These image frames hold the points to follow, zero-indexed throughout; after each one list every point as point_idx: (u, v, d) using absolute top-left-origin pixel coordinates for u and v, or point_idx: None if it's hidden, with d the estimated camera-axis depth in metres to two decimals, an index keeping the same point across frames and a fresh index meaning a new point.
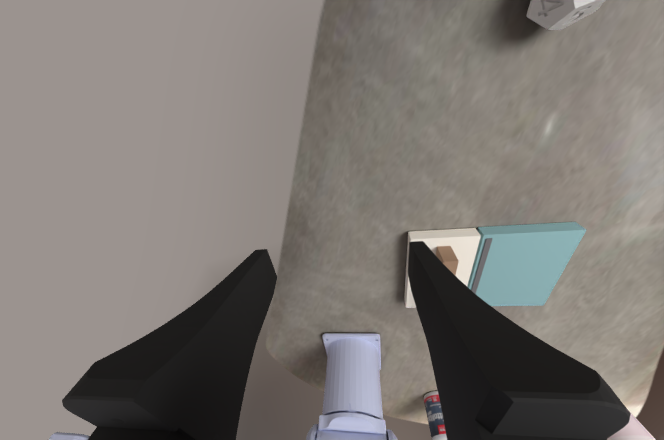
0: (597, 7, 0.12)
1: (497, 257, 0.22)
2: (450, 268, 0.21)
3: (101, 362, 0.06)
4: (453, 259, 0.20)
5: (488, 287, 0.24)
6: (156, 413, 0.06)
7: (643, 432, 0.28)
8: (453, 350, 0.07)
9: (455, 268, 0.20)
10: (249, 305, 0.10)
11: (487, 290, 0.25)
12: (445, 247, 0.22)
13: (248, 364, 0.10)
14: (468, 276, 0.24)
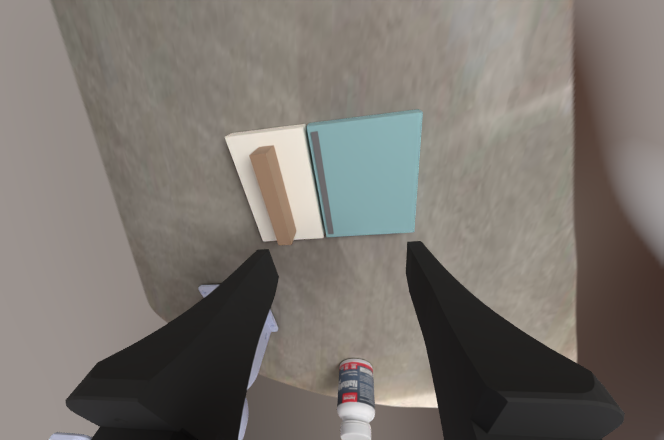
0: None
1: (335, 160, 0.18)
2: (261, 166, 0.17)
3: (104, 363, 0.06)
4: (262, 153, 0.16)
5: (342, 208, 0.20)
6: (160, 413, 0.06)
7: None
8: (449, 350, 0.07)
9: (267, 166, 0.17)
10: (251, 305, 0.10)
11: (342, 212, 0.21)
12: (266, 146, 0.18)
13: (250, 364, 0.10)
14: (313, 191, 0.20)
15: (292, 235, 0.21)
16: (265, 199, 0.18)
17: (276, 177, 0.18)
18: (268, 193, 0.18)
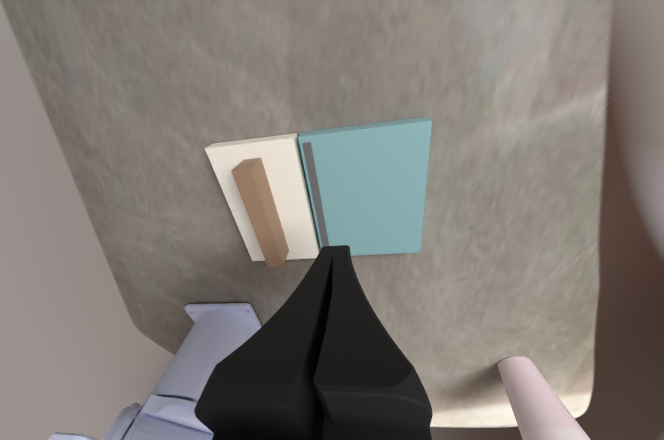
0: None
1: (331, 175, 0.16)
2: (246, 183, 0.14)
3: (224, 365, 0.06)
4: (246, 168, 0.14)
5: (340, 226, 0.18)
6: (298, 420, 0.05)
7: (569, 423, 0.22)
8: None
9: (252, 182, 0.14)
10: (329, 303, 0.10)
11: (340, 231, 0.18)
12: (252, 159, 0.15)
13: None
14: (306, 208, 0.17)
15: (284, 256, 0.18)
16: (251, 219, 0.16)
17: (264, 194, 0.16)
18: (254, 212, 0.15)
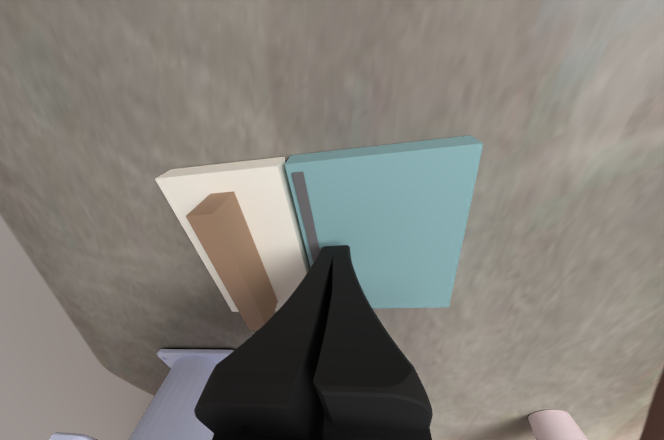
0: None
1: (332, 214, 0.11)
2: (209, 232, 0.10)
3: (223, 365, 0.06)
4: (207, 212, 0.10)
5: None
6: (298, 420, 0.05)
7: None
8: None
9: (218, 231, 0.10)
10: (329, 304, 0.10)
11: None
12: (221, 194, 0.11)
13: None
14: (299, 255, 0.13)
15: (270, 314, 0.14)
16: (222, 276, 0.11)
17: (238, 242, 0.11)
18: (225, 268, 0.11)
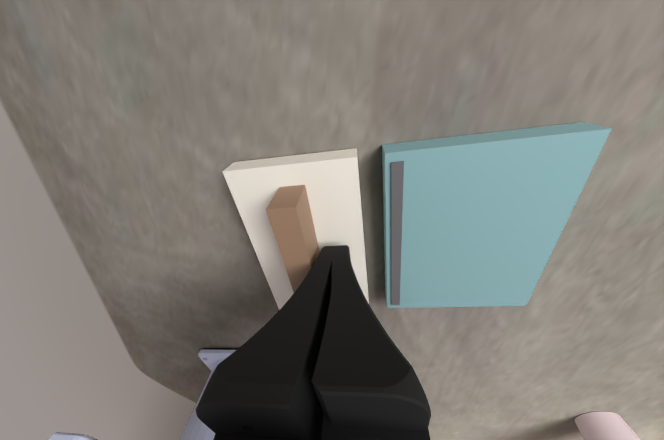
0: None
1: (424, 207, 0.11)
2: (287, 226, 0.09)
3: (225, 365, 0.06)
4: (288, 205, 0.09)
5: (421, 272, 0.13)
6: (300, 421, 0.05)
7: None
8: None
9: (297, 226, 0.09)
10: None
11: (419, 278, 0.13)
12: (292, 187, 0.10)
13: None
14: (362, 251, 0.12)
15: None
16: (290, 273, 0.11)
17: (309, 238, 0.11)
18: (296, 265, 0.11)
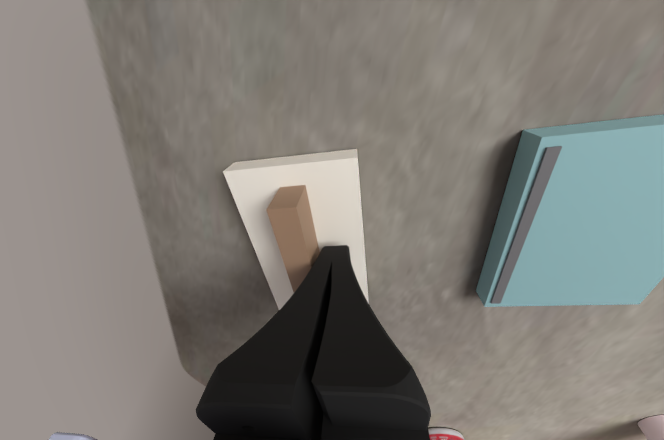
0: None
1: (565, 197, 0.10)
2: (288, 226, 0.09)
3: (225, 365, 0.06)
4: (289, 205, 0.09)
5: (535, 269, 0.12)
6: (300, 420, 0.05)
7: None
8: None
9: (298, 226, 0.09)
10: None
11: (531, 275, 0.13)
12: (293, 187, 0.10)
13: None
14: (362, 252, 0.12)
15: None
16: (290, 273, 0.11)
17: (309, 238, 0.11)
18: (296, 265, 0.11)
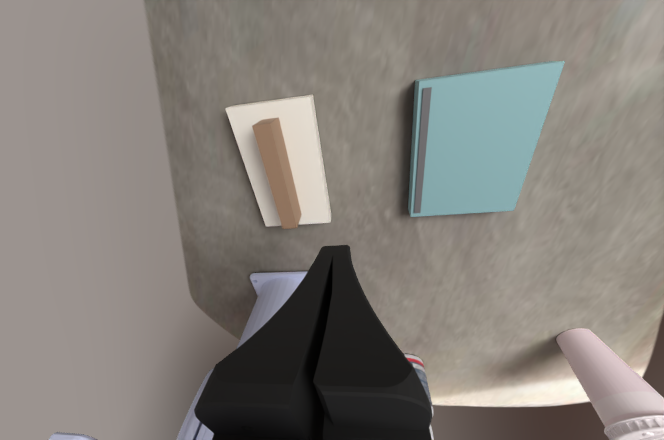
0: None
1: (443, 124, 0.16)
2: (266, 138, 0.15)
3: (224, 364, 0.06)
4: (266, 123, 0.15)
5: (437, 182, 0.18)
6: (298, 420, 0.05)
7: (646, 388, 0.22)
8: None
9: (272, 138, 0.15)
10: (329, 303, 0.10)
11: (436, 187, 0.18)
12: (270, 118, 0.16)
13: None
14: (320, 170, 0.18)
15: (297, 218, 0.19)
16: (269, 176, 0.17)
17: (281, 152, 0.16)
18: (272, 170, 0.16)
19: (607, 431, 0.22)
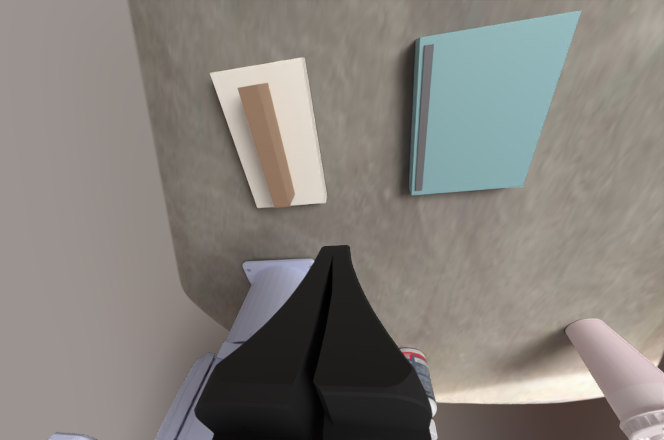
0: None
1: (446, 88, 0.14)
2: (253, 103, 0.14)
3: (224, 365, 0.06)
4: (252, 85, 0.14)
5: (440, 155, 0.17)
6: (298, 420, 0.05)
7: None
8: None
9: (259, 102, 0.14)
10: (329, 304, 0.10)
11: (439, 161, 0.17)
12: (259, 83, 0.15)
13: None
14: (314, 143, 0.17)
15: (290, 196, 0.18)
16: (258, 148, 0.15)
17: (270, 121, 0.15)
18: (261, 139, 0.15)
19: (623, 426, 0.21)
